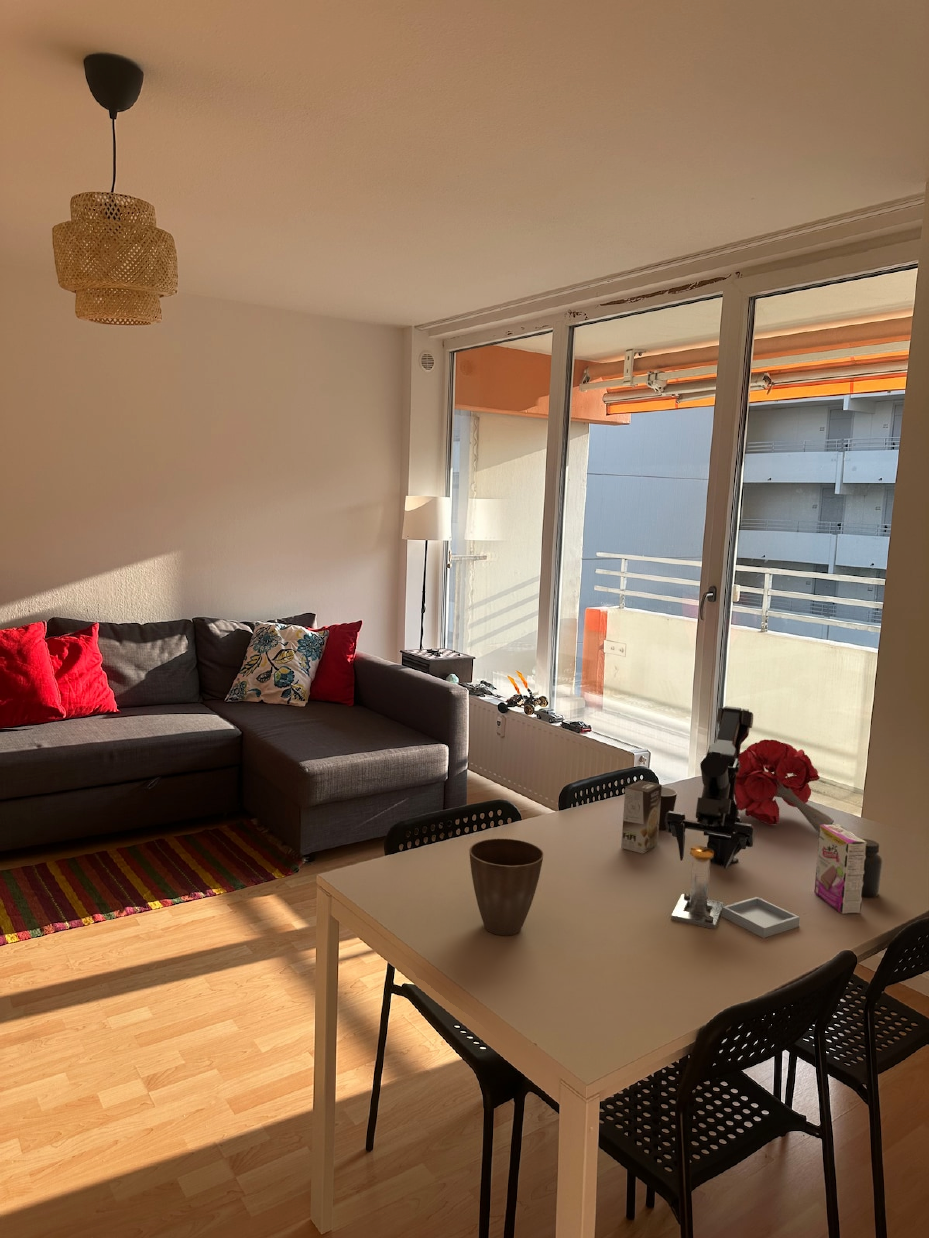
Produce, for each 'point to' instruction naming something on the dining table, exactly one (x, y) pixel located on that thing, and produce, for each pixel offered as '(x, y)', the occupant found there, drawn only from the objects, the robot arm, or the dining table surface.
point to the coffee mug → (666, 805)
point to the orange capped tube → (700, 879)
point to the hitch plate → (697, 919)
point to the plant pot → (505, 882)
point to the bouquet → (776, 782)
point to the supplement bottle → (872, 870)
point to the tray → (760, 917)
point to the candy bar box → (840, 868)
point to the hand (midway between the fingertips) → (702, 863)
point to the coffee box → (641, 816)
